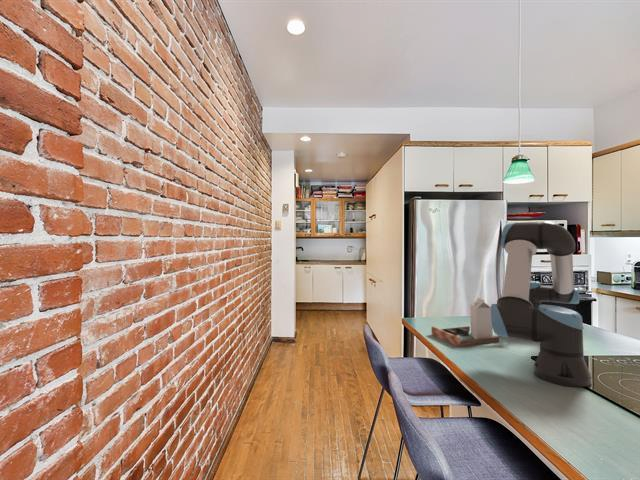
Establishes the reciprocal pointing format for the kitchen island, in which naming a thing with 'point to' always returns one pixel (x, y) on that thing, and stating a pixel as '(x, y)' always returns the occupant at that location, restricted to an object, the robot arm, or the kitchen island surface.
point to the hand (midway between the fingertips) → (481, 317)
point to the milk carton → (481, 319)
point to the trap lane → (452, 337)
